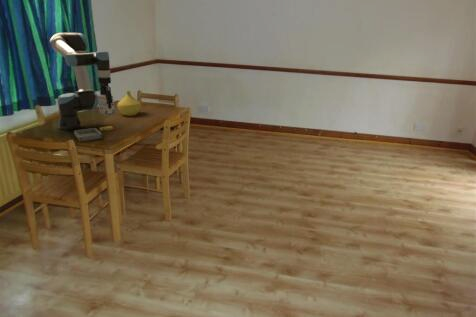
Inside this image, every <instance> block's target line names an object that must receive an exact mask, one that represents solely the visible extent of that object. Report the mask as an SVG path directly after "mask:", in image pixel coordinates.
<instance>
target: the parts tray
mask: <svg viewBox="0 0 476 317" xmlns="http://www.w3.org/2000/svg"><path fill="white" fill-rule="evenodd" d="M73 135H74V137H75V138H76V139H77V140H78V141H79V142H80V143H81V142H85V141H86V142H87V141H95V140H100V139H101V140H102V139H103V133H102V132H101V131H100V130H99V129H97V128H96V127H93V128H85V129H83V128H82V129H74V130H73Z"/></svg>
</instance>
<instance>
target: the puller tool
mask: <svg viewBox="0 0 476 317" xmlns="http://www.w3.org/2000/svg"><path fill="white" fill-rule="evenodd" d="M98 128H99V129H98V130H99V132H104V131H111V130H114V129H113V128H114V127H113V126H112V125H109V126H101V127H98Z"/></svg>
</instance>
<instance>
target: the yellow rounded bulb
mask: <svg viewBox="0 0 476 317" xmlns="http://www.w3.org/2000/svg"><path fill="white" fill-rule="evenodd" d="M125 93H126V95H125V96H123V98H122V99H121V100H120V101H118V102H117V109H118V111H119V112H120V114H122V115H123V116H126V117H130V116H133V117H134V116H136V115H137V114H138V113H139V112H140V111H141V108H142V103H141V101H139V100H138V99H137V98H135V97H134V96H132V93H131V91H130V90H126V92H125Z"/></svg>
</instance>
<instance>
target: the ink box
mask: <svg viewBox="0 0 476 317" xmlns="http://www.w3.org/2000/svg"><path fill="white" fill-rule="evenodd" d="M112 102H113V103H111V105H112V113H109V114H108V112H107V104H106V103H107V100H106V95H100V94H99V95H98V103H99V104H98V110H99V114H102V115H109V116H110V115H113V114H116V113H115V104H114V95H112Z"/></svg>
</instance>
